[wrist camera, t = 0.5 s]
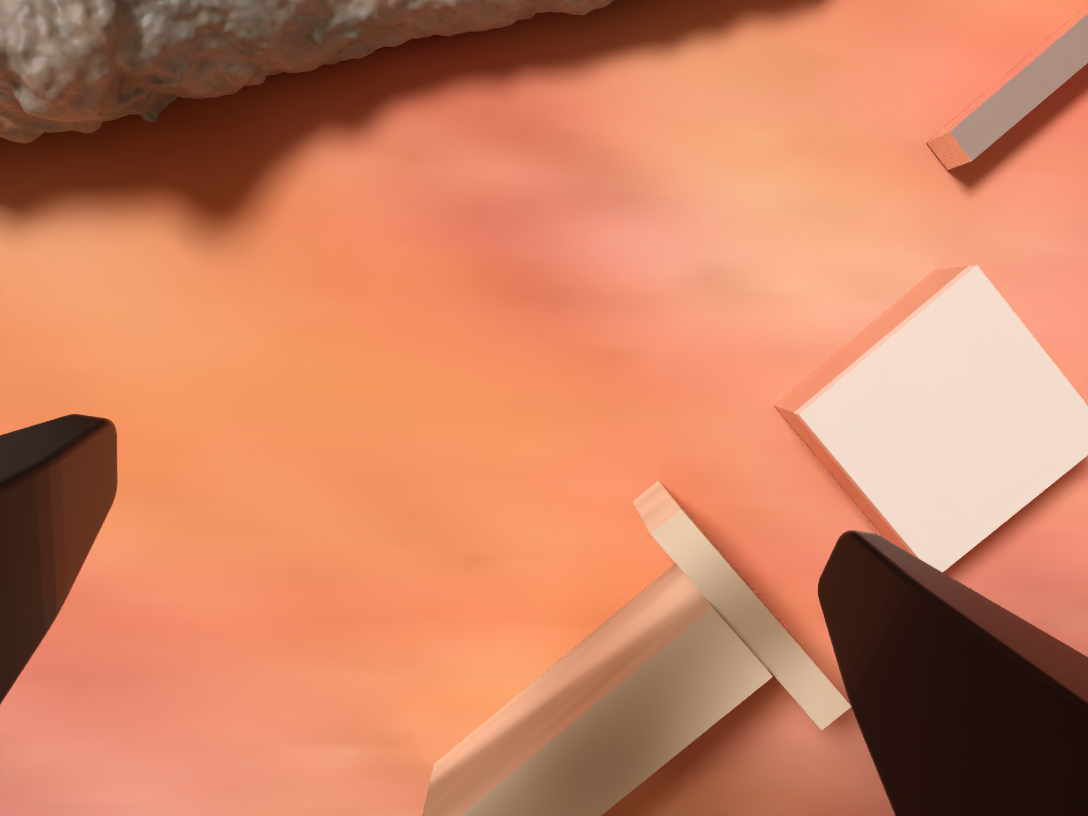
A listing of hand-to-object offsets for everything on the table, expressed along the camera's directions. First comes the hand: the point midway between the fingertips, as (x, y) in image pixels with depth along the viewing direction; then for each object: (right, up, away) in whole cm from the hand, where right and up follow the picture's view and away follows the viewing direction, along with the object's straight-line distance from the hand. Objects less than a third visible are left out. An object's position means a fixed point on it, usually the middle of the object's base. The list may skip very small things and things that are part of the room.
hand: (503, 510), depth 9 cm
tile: (+11, +1, +13) cm, 18 cm away
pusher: (+2, -7, +14) cm, 16 cm away
